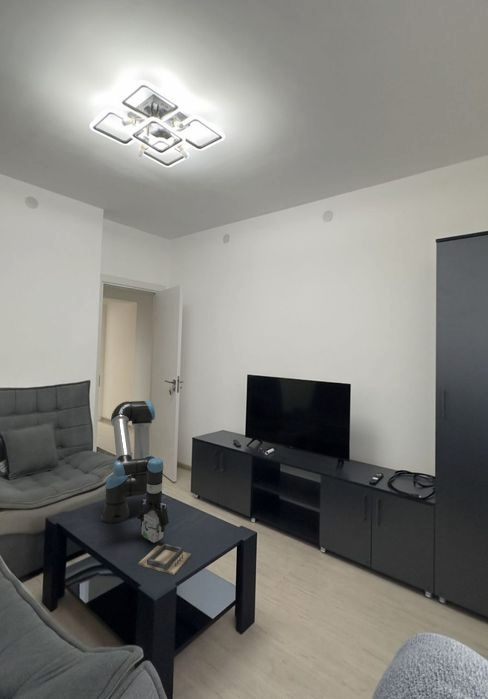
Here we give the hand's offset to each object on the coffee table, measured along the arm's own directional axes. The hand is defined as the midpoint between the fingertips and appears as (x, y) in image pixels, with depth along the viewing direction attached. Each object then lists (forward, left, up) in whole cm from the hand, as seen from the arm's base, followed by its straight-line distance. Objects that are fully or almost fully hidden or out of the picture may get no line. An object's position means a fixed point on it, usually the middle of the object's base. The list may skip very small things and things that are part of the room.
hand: (152, 535), depth 172 cm
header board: (+14, -11, -3) cm, 18 cm away
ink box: (0, 0, -1) cm, 1 cm away
